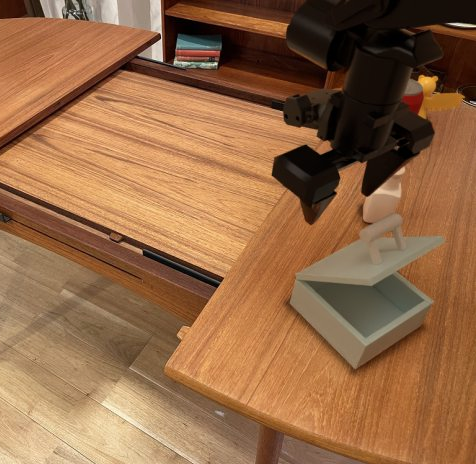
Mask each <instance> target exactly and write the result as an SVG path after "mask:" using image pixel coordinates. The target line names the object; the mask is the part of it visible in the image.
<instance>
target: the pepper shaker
mask: <svg viewBox="0 0 476 464" xmlns="http://www.w3.org/2000/svg"><path fill="white" fill-rule="evenodd" d="M405 172H406V168H405V166H404V167H403V168H401V169H400V170H399V171H398V172H397V173H395V174H394V175H393V176H392V177H391V178H390V179H388V180H387V181H386V182H385V183H384V184H383V185H382V186H380V187H379V188H378V189H377V190H376V191H375V192H374V193H373V194H371V195H370V196H369V197H366V196H365V200H364V202H363V205H362V218H363V222H365V223H368V224H373V223H375V222H377V221H379V220H381V219H383V218H385V217H386V216H388V215H390V214H392V213H396V210H397V207H398V205H399V202H400V200H401V197H402V184H401V183H402V181H403V178H404V175H405Z"/></svg>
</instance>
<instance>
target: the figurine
mask: <svg viewBox="0 0 476 464" xmlns="http://www.w3.org/2000/svg"><path fill="white" fill-rule="evenodd" d="M438 80H439V77H438V76H437V75H434V76H432V77H431V76H425V75H424V74H421V75H419V76H418V79H417V80H416V81H417V82H419V83H420V84H421V85H422V87H423V90H422V91H423V95H424V100H423V103H422V105H421V108H420V111H419V114H418V115H419V116H421V117H423V118H424V119H426V120H427V111H429V112H430V113H431V112H433V111H436V110H437V111H438V112H441V111H442V110H444V111H448V109H449V110H453V109H454V107H456V108H458V107H460V104H462V103H463V102H464V101H463V99H466V96H465V95H463V94H462V93H460V92H459V93H457V92H448V93H446V92H445V93H441V92H438V93H434V92H435V90H436V88H437V81H438ZM432 94H433V96H432V97H431V95H432Z"/></svg>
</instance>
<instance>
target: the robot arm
mask: <svg viewBox="0 0 476 464" xmlns="http://www.w3.org/2000/svg"><path fill="white" fill-rule="evenodd" d="M446 24H447V25H448V24H463V25H471V26H476V0H305V2H303V3H302V4H301V5H300V6H299V8H297V10H296V11H295V13H294V15H293V16H292V18H291V20H290V22H289V24H288V25H287V26H286V31H285V42H286V45H287V47H288V48H289V49H290V50H291V52H294V53H295V54H298V55H299V56H301V57H303V58H304V59H306V60H308V61H310V62H311V63H313V64H315V65H317V66H319V67H320V68H323V69H324V70H326V71H328V72H330V73H336V72H340V71H342V70H343V69H345V68H346V72H345V76H344V81H343V85H342V88H341V89H332V88H331V89H330V88H318V89H314V90H311V91H308V92H306V93H304V94H300V93H295V94H293V95H290V96H288V97H286V98H285V101H284V104H283V109H282V116H283V122H284V123H285V125H287V126H290V127H294V128H296V129H297V128H298V129H301V128H306V129H311V130H315V131H317V132H316V135H315V136H316V138H318V139H319V140H321V141H322V142H324V143H326V142H329V146H330V148H331V149H330V150H328V151H326V152H324V153H319V152H318V151H316V150H315V149H314V148H313V147H310V146H309V145H308V144H307V143H305V144H303V145H299V146H298V147H295V148H293V149H291V150H288V151H285V152H283V153H281V154H279V155H275V156H274V157H273V163H272V169H271V175H270V176H271V177H272V178H273V179H275V180H276V181H277V182H279V184H281V185H282V186H283V187H285V188H286V189H287V190H288V191H290V192H291V193H292V194H294V195H295V196H296V197H297V198H298V199H299V204H300V208H301V211H302V215H303V219H304V221H305V223H306V224H308V226H314V224H316V223H317V221H318V220H319V218H320V217H321V216H322V214H324V212H325V211H326V209H327V208H328V207H329V205H330V204H331V203H332V201H334V199H335V197H336V196H337V195H338V192H337V191H335V190H336V189H337V188H338V187H339V185H340V181H341V174H340V172H341V171H344V170H346V169H347V168H350V167H352V166H355V165H356V164H358V163H360V164H364V163H365V169H364V173H363V176H362V182H361V187H360V193H361V195H363V196H364V197H365V198H366V197H369V196H370V195H371V194H373V193H374V192H375V191H376V190H377V189H378V188H379V187H380V186H382V185H383V184H384V183H385V182H386V181H387V180H388V179H390V178H391V177H392V176H393V175H394V174H395V173H397V172H398V171H399V170H400V169H401V168H403V167H404V168H405V166H407V165H408V164H409V163H410V162H411V161H412V160H414V159H415V158H416V157H418V156H420V154H421V152H422V151H424V150H426V149H428V148H430V146H431V143H432V142H433V139H434V136H435V134H436V132H435V129H434V126H433V123H432V122H431V121H430V120H428V119H427V118H426V119H424V118H423V117H421V116H419V115H417V114H415V113H413V112H412V111H410V110H408V109H409V106H410V105H408V104H407V103H405V102H403V101H402V99H403V96H404V93H405V90H406V87H407V85H408V82H409V79H411V75H412V73H413V70H414V69H417V68H420V67H423V66H425V65H427V64H430V63H433V62H436V61H438V60H441V59H442V58H443V57H444V51H443V49H442V47H441V46H440V44H439V43H438V42H437V41H436V39H435V37H434V35H433V31H432V29H430V28H429V29H425V30H422V31H419V32H416V33H415V32H413V31H410V29H417V28H424V27H431V26H436V25H446ZM408 29H409V30H408Z"/></svg>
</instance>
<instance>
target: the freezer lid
mask: <svg viewBox="0 0 476 464" xmlns="http://www.w3.org/2000/svg"><path fill="white" fill-rule="evenodd" d="M403 222H404V221H403V217H402V216H401V215H400V214H399V213H397V212H395V213H392V214H390V215H388V216H386V217H385V218H383V219H381V220H379V221H377V222H375V223H370V224H369V225H367V226H366V227H364V228H362V229H360V230H359V233H358V234H359V235H358V236H359V238H358V239H357V240H355V241H353V242H351V243H349V244H348V245H346V246H344V247H342V248H340V249H337V250H336V251H335V252H332V253H330V254H329V255H327V256H325V257H324V258H321V259H320V260H318V261H315V263H312V264H311V265H309V266H307V267H305V268H303V269H301V270H299V271H297V272H295V274H294V275H295V277H296V278H295V279H297V280H309V281H320V282H332V283H343V284H354V285H366V286H372V285H374V284H376V283H377V282H379V281H381V280H382V279H384V278H386V277H388V276H389V275H391V274H393V273H394V272H396V271H397V272H398V271H400V270H402V269H403V268H405V267H406V266H408V265H410V264H411V263H413V262H415V261H416V260H418V259H420V258H422V257H423V256H425V255H426V254H428V253H430V252H431V251H433V250H435V249H436V248H438V247H440V246H441V245H443V244H445V243H446V239H445V237H444V235H425V236H424V235H423V236H419V235H418V236H404V234H403V230H402V227H401V226H402V225H403ZM391 231H392V235H393V236H389V237H382V236H384V235H386V234H388V233H390V232H391Z"/></svg>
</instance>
